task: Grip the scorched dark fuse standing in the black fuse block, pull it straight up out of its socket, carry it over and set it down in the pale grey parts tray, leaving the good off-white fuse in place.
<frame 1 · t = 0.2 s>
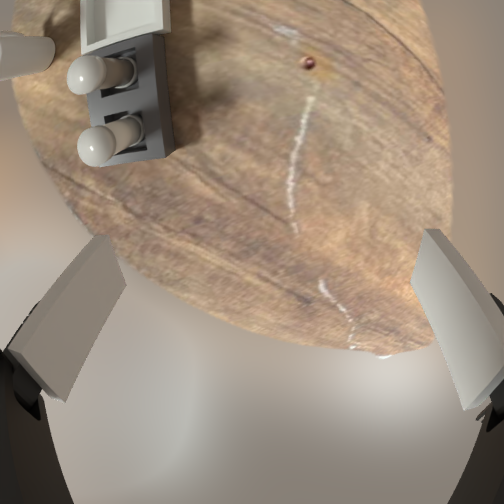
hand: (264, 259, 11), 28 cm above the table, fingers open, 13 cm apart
fuse block: (134, 99, 32), on the table
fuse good: (133, 129, 33), point 1 cm above the table, touching fuse block
tray: (127, 6, 24), on the table
mug: (40, 48, 26), on the table
fuse blown: (126, 72, 29), point 1 cm above the table, touching fuse block
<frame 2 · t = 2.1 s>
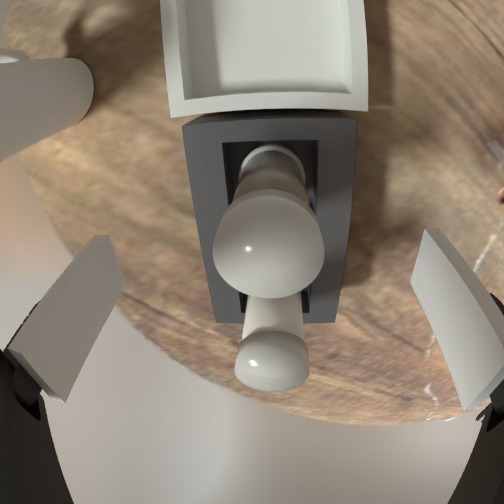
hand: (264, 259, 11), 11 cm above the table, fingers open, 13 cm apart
fuse block: (274, 214, 23), on the table
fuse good: (275, 267, 24), point 1 cm above the table, touching fuse block
tray: (264, 24, 15), on the table
mug: (60, 79, 17), on the table
fuse blown: (272, 171, 19), point 1 cm above the table, touching fuse block
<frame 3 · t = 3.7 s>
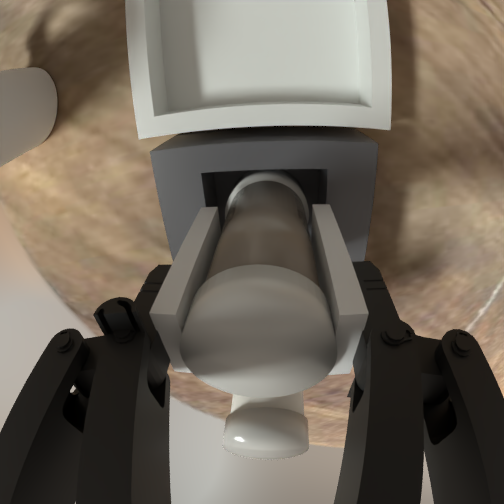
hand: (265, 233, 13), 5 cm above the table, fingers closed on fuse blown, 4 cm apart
fuse block: (270, 251, 19), on the table
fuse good: (271, 311, 20), point 1 cm above the table, touching fuse block
tray: (257, 16, 11), on the table
mug: (24, 92, 13), on the table
fuse blown: (267, 204, 16), point 1 cm above the table, touching fuse block, gripper
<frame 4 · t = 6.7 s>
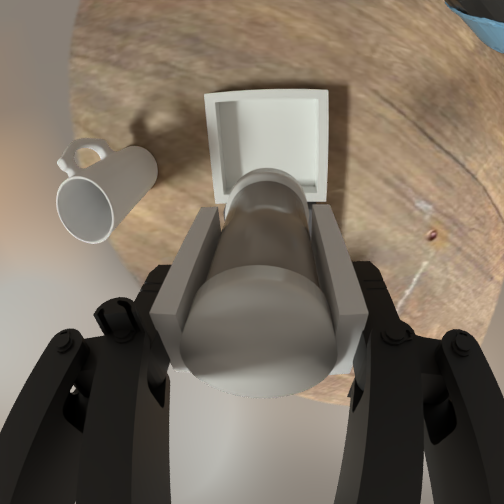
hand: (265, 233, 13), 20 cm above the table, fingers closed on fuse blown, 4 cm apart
tray: (269, 142, 30), on the table
mug: (129, 158, 32), on the table
fuse blown: (267, 204, 16), point 17 cm above the table, touching gripper
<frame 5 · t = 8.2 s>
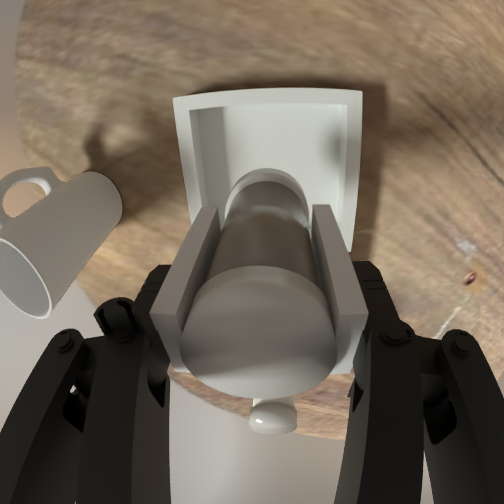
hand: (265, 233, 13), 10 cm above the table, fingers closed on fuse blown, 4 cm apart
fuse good: (275, 342, 30), point 1 cm above the table, touching fuse block
tray: (271, 165, 21), on the table
mug: (87, 187, 23), on the table
fuse blown: (267, 204, 16), point 7 cm above the table, touching gripper
when the fingers open (6 cm above the table, at t = 9.6 s): fuse blown drops 2 cm, resting on tray.
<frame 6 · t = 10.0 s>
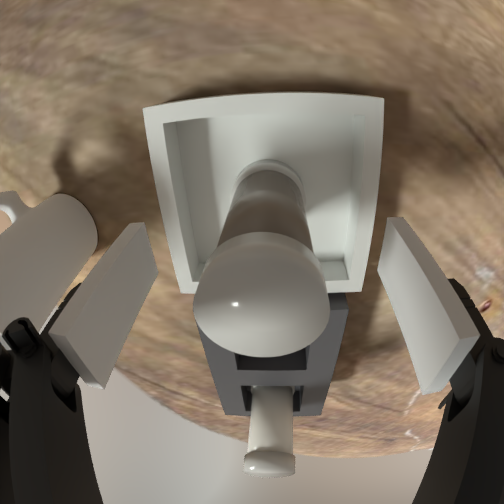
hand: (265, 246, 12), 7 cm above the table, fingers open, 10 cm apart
fuse block: (273, 342, 26), on the table
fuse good: (273, 378, 27), point 1 cm above the table, touching fuse block
tray: (268, 188, 18), on the table
mug: (59, 211, 20), on the table
fuse blown: (268, 193, 17), point 1 cm above the table, touching tray
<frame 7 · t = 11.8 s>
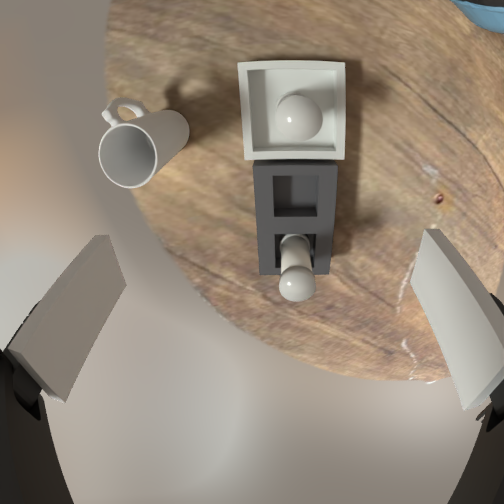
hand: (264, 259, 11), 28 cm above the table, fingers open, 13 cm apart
fuse block: (294, 211, 40), on the table
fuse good: (294, 241, 41), point 1 cm above the table, touching fuse block
tray: (292, 107, 32), on the table
mug: (162, 121, 34), on the table
fuse blown: (293, 108, 31), point 1 cm above the table, touching tray
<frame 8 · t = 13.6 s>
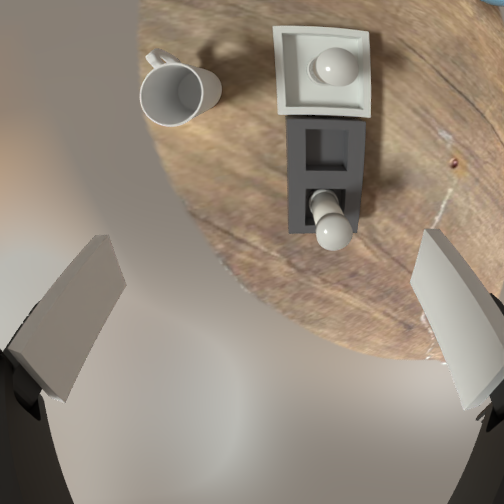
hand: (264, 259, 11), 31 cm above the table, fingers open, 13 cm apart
fuse block: (321, 170, 40), on the table
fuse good: (322, 200, 40), point 1 cm above the table, touching fuse block
tray: (321, 70, 32), on the table
mug: (194, 81, 34), on the table
fuse blown: (322, 70, 31), point 1 cm above the table, touching tray
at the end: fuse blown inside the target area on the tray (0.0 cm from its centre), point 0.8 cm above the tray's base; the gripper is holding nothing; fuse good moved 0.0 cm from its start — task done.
